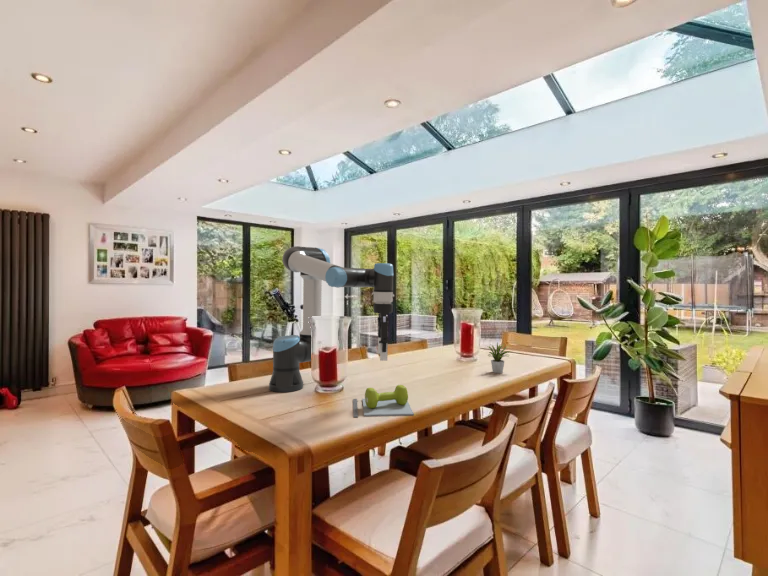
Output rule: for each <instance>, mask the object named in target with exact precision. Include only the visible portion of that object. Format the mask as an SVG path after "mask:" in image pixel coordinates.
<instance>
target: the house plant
mask: <svg viewBox="0 0 768 576" xmlns="http://www.w3.org/2000/svg"><path fill="white" fill-rule="evenodd" d="M504 345H505V343H503V344H499V343H498V342H497V343H496V348H495V347H494V345H491V346H490V345H489V346H487V345H486V347H487V348H488V349H489V350H490V352H488V353H489V354H488V355H487V356H488V358H490V357H491V358H493V359H490V362H491V363H490V364H491V370H492V373H494V374H502V373H504V366H505V360H503V358H504V357H505V355H506V354H507V357H508V358H510V354H508V353H512V351H511V350H507V349H508V348H509V345H508V346H506V347H504V348H503V346H504ZM502 348H503V349H502ZM505 350H507V351H505Z"/></svg>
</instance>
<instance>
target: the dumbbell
mask: <svg viewBox="0 0 768 576" xmlns="http://www.w3.org/2000/svg"><path fill="white" fill-rule="evenodd" d="M408 393H409V392H408V389H407V387H406V386H405V385H403V384H398V385H396V386H395V389H394V391H385V392H379V393H378V391H377V390H376V389H375V388H374V387H366V390H365V392H364V399H365V403H366V405H367V407H368V408H370V409H372V408H376V406H377V403H378V401H388V400H396V402H397V403H398V404H399V405H405V404H406V403H407V401H408V400H409V394H408Z"/></svg>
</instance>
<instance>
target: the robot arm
mask: <svg viewBox="0 0 768 576" xmlns="http://www.w3.org/2000/svg"><path fill="white" fill-rule="evenodd" d="M282 263H283V266H284V268H286V269H287V270H289V271H291V272H294V273H300V274H299V276H300V278H302V279H303V281H302V282H303V286H302V289H303V290H302V292H303V294H302V295H303V296H302V297H303V299H302V330H301V331H300V332H299V335H296V334H289V335H287V334H286V335H282V336H279V337H277V338H275V339H274V340H273V343H272V373H271V376H270V380H269V383H268V390H269V391H271V392H277V393H291V392H296V391H300V390H302V389H303V388H304V380H303V377H302V375H301V374H302V373H301V371H300V364H301V363H306V362H312V361H311V328H310V324H309V323H308V320H309V319H308V317H310V318H311V317H312V316H321V317H322V286H323V285H322V284H323V281H324V282H326V283H327V286H329V287H332V288H339V289H340V288H373V302H374V303H373V313H375V314H378V315H377V316H378V317H377V326H378V327H377V354H378V355H379V360H380V362H381V361H382V362H383V361H388V350H389V347H388V345H389V344H388V343H389V329H388V328H389V316H387V314H392V313H393V312H394V310H393V309H394V307H393V306H394V304H393V301H394V299H393V298H394V297H395V294H394V275H395V274H394V265H393V264H392V263H387V262H385V263H384V262H382V263H381V262H380V263H379V262H378V263H374V265H373V266H374V267H373V268H361V267H360V268H357V267H356V268H355V267H342V266H339V265H337V264H334V263H331V257H330V254H328V252H327V251H326V250H325V249H323V248H320V247H311V246H308V247H307V246H300V245H298V246H291V247H289V248H288V249H286V250H285V251H284V253H283V255H282ZM309 322H310V321H309Z"/></svg>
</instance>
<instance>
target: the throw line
mask: <svg viewBox="0 0 768 576" xmlns="http://www.w3.org/2000/svg"><path fill="white" fill-rule="evenodd" d="M352 408H353V410H352V411H353V415H352V416H353V418H357V419H358V418H359V412H358V409H359V408H358V399H357V398H353V399H352Z"/></svg>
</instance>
